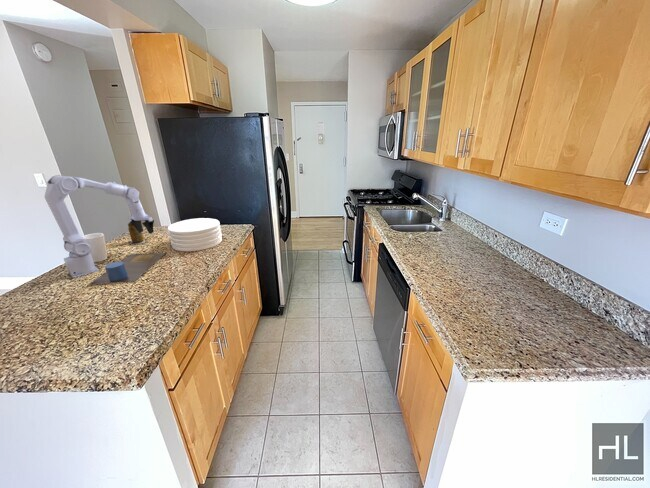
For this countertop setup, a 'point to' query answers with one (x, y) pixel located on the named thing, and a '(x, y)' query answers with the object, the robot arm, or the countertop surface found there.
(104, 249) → the foam cup
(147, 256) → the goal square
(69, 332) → the countertop surface
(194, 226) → the plate stack
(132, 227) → the condiment
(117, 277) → the can
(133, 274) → the board
